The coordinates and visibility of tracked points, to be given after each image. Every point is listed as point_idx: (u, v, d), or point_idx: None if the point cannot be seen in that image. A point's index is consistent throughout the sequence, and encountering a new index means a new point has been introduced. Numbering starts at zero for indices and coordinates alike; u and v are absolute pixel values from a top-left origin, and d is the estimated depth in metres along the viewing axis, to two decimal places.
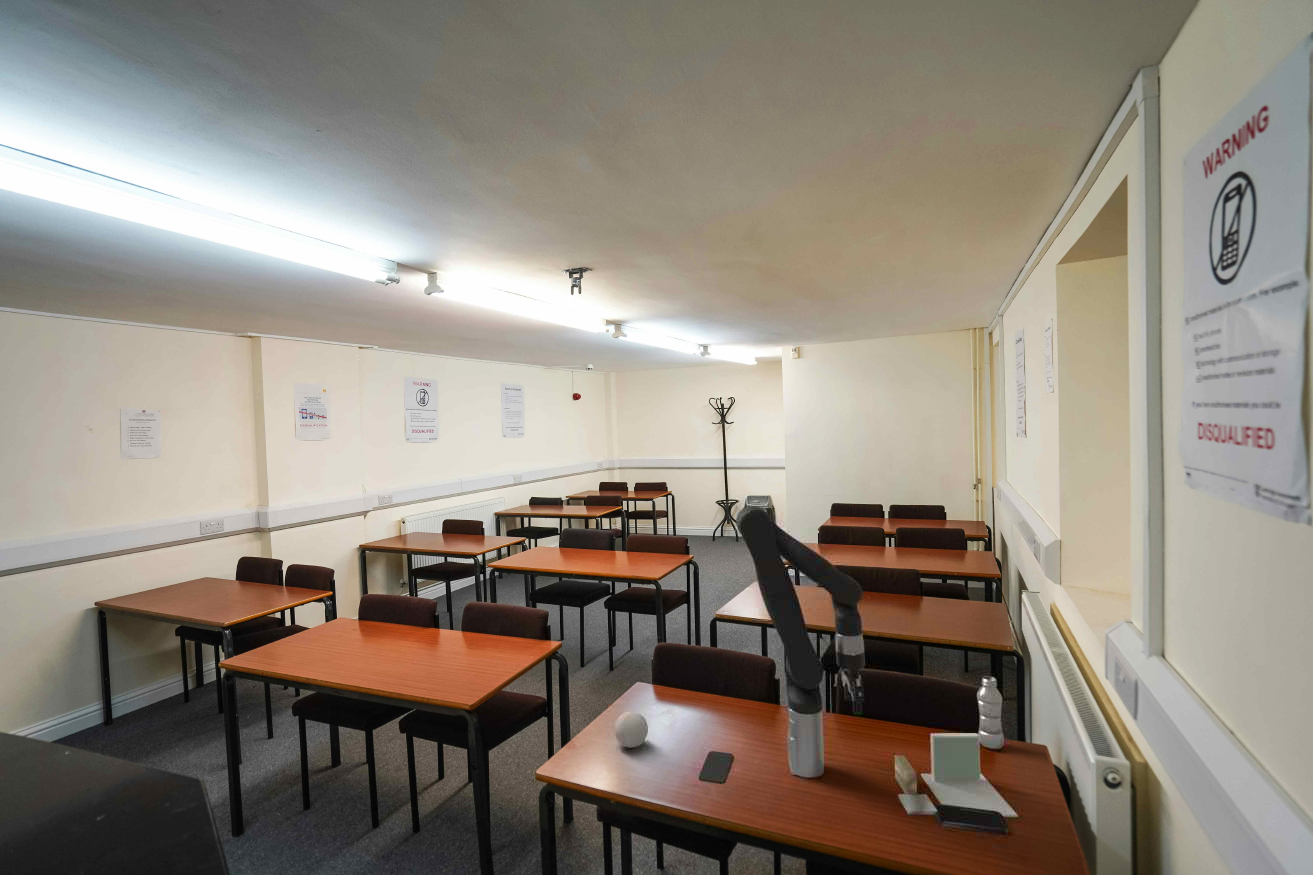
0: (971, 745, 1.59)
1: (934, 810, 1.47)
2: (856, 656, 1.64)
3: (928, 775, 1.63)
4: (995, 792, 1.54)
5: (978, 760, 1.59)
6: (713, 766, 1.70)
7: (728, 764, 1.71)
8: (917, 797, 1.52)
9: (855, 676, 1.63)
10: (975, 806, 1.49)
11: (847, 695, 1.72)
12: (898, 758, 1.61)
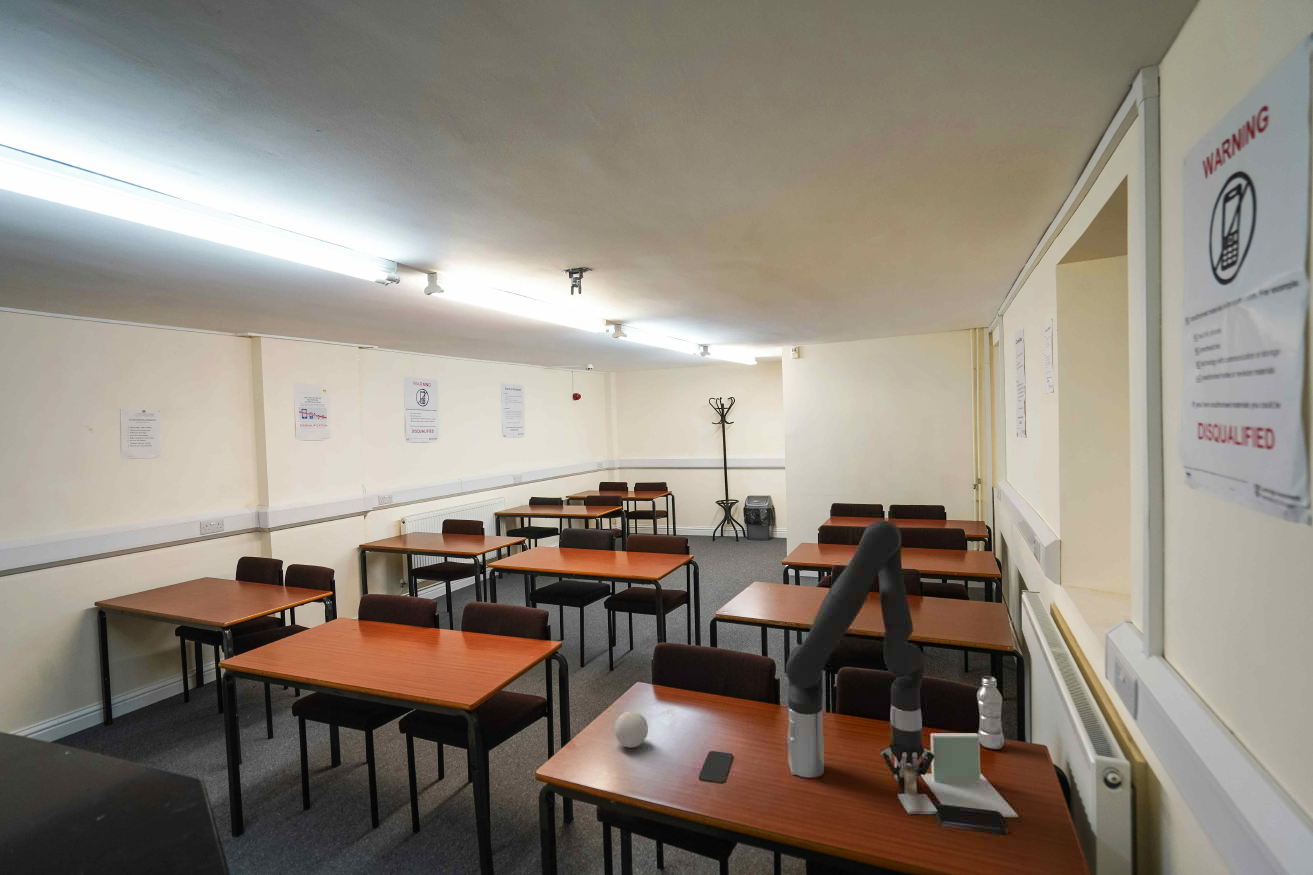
0: (971, 745, 1.59)
1: (934, 810, 1.47)
2: None
3: (928, 775, 1.63)
4: (995, 792, 1.54)
5: (978, 760, 1.59)
6: (713, 766, 1.70)
7: (728, 764, 1.71)
8: (917, 797, 1.52)
9: None
10: (975, 806, 1.49)
11: None
12: None
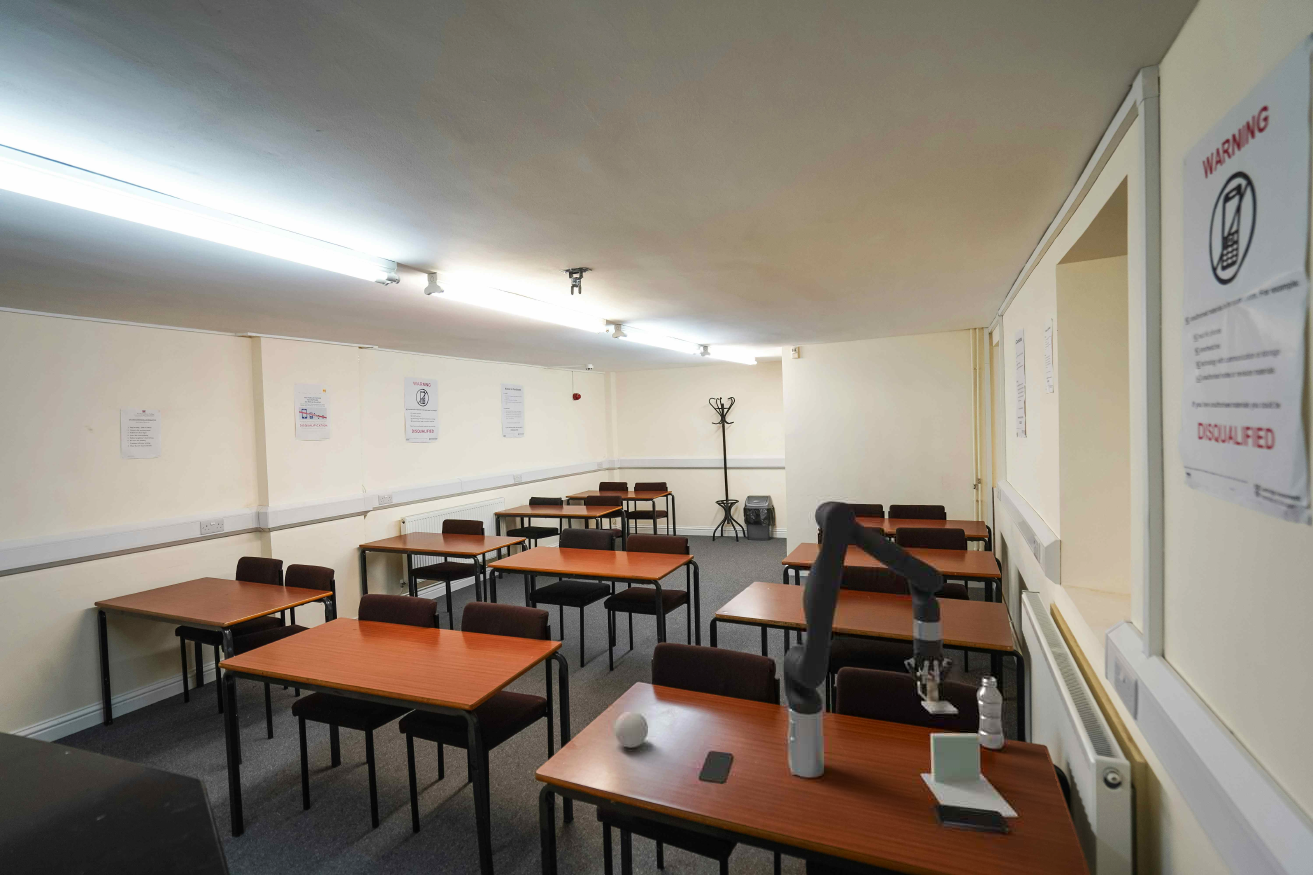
0: (971, 745, 1.59)
1: (954, 709, 1.63)
2: None
3: (928, 775, 1.63)
4: (995, 792, 1.54)
5: (978, 760, 1.59)
6: (713, 766, 1.70)
7: (728, 764, 1.71)
8: (939, 702, 1.68)
9: None
10: (975, 806, 1.49)
11: None
12: None
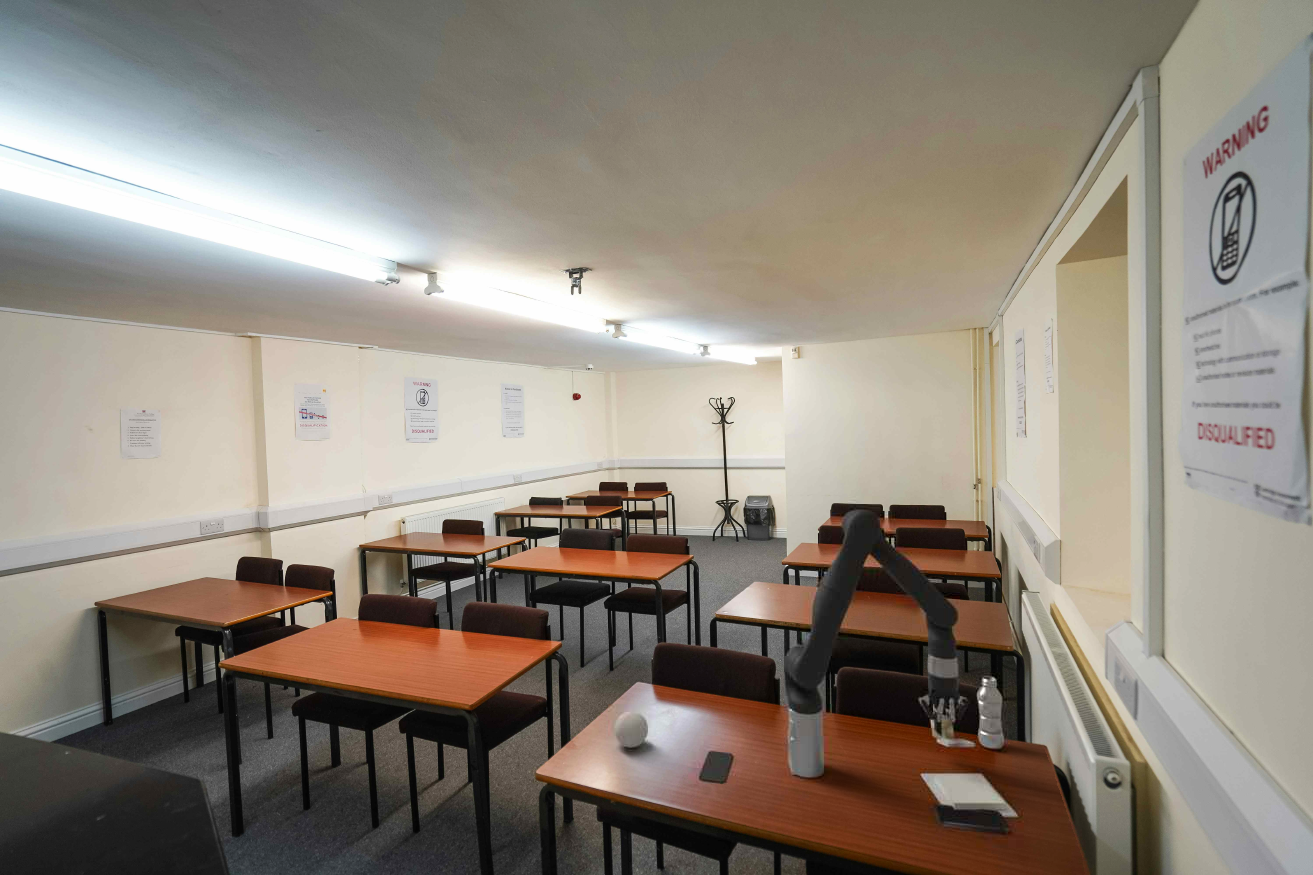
0: None
1: (971, 743, 1.57)
2: None
3: (928, 775, 1.63)
4: None
5: None
6: (713, 766, 1.70)
7: (728, 764, 1.71)
8: (955, 739, 1.62)
9: None
10: None
11: None
12: None
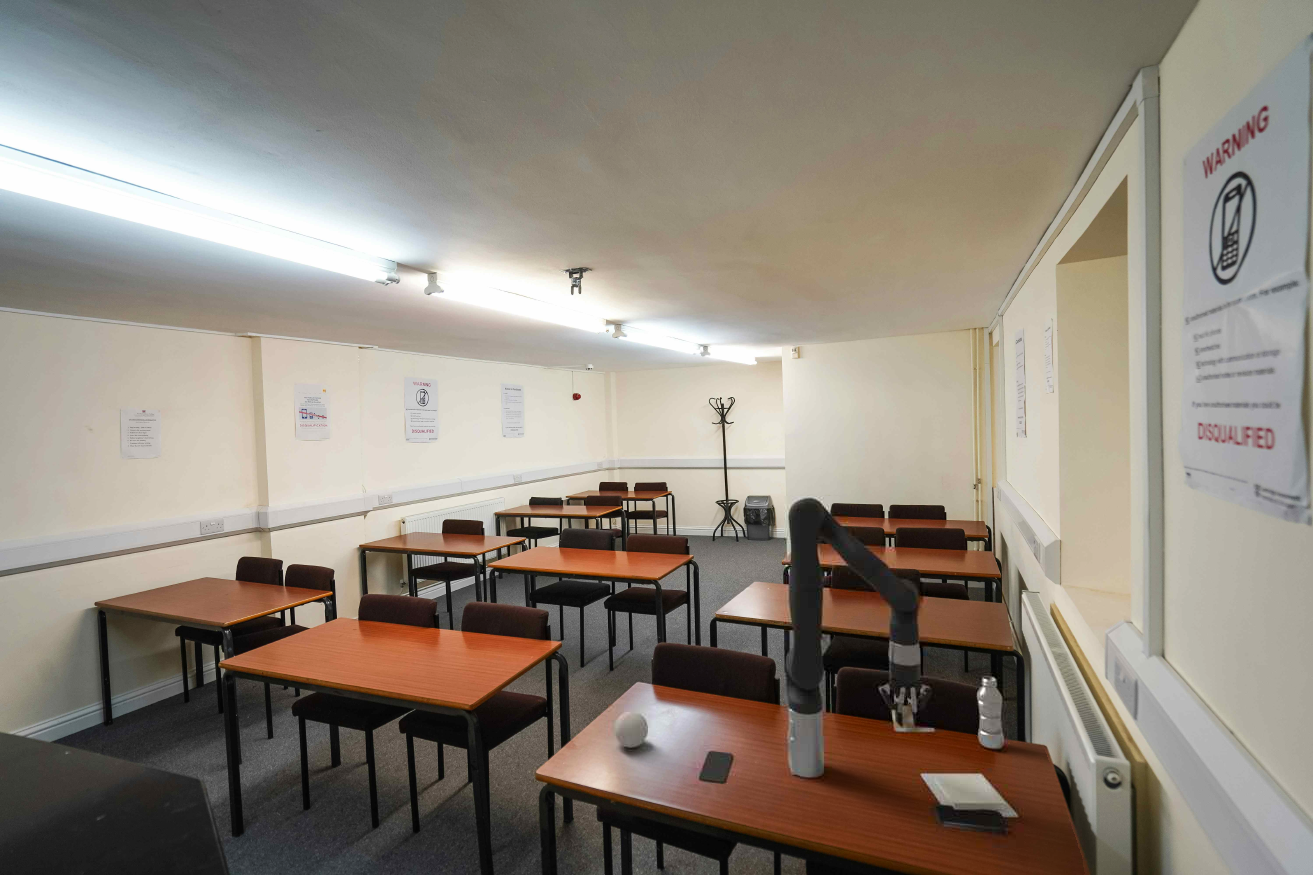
0: None
1: (931, 728, 1.48)
2: None
3: (928, 775, 1.63)
4: None
5: None
6: (713, 766, 1.70)
7: (728, 764, 1.71)
8: None
9: None
10: None
11: None
12: None
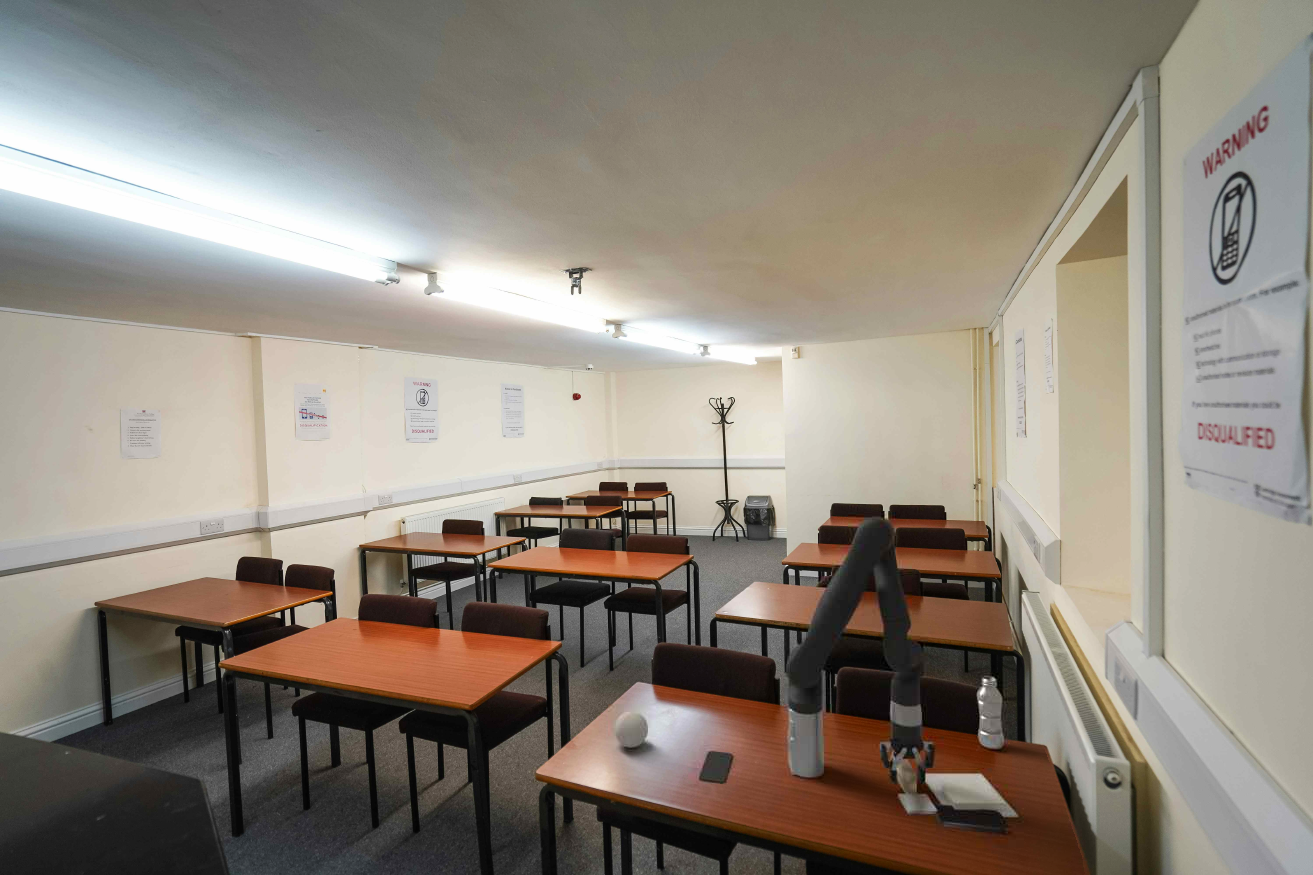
0: None
1: (934, 809, 1.47)
2: None
3: (928, 775, 1.63)
4: None
5: None
6: (713, 766, 1.70)
7: (728, 764, 1.71)
8: (917, 797, 1.53)
9: None
10: None
11: None
12: None
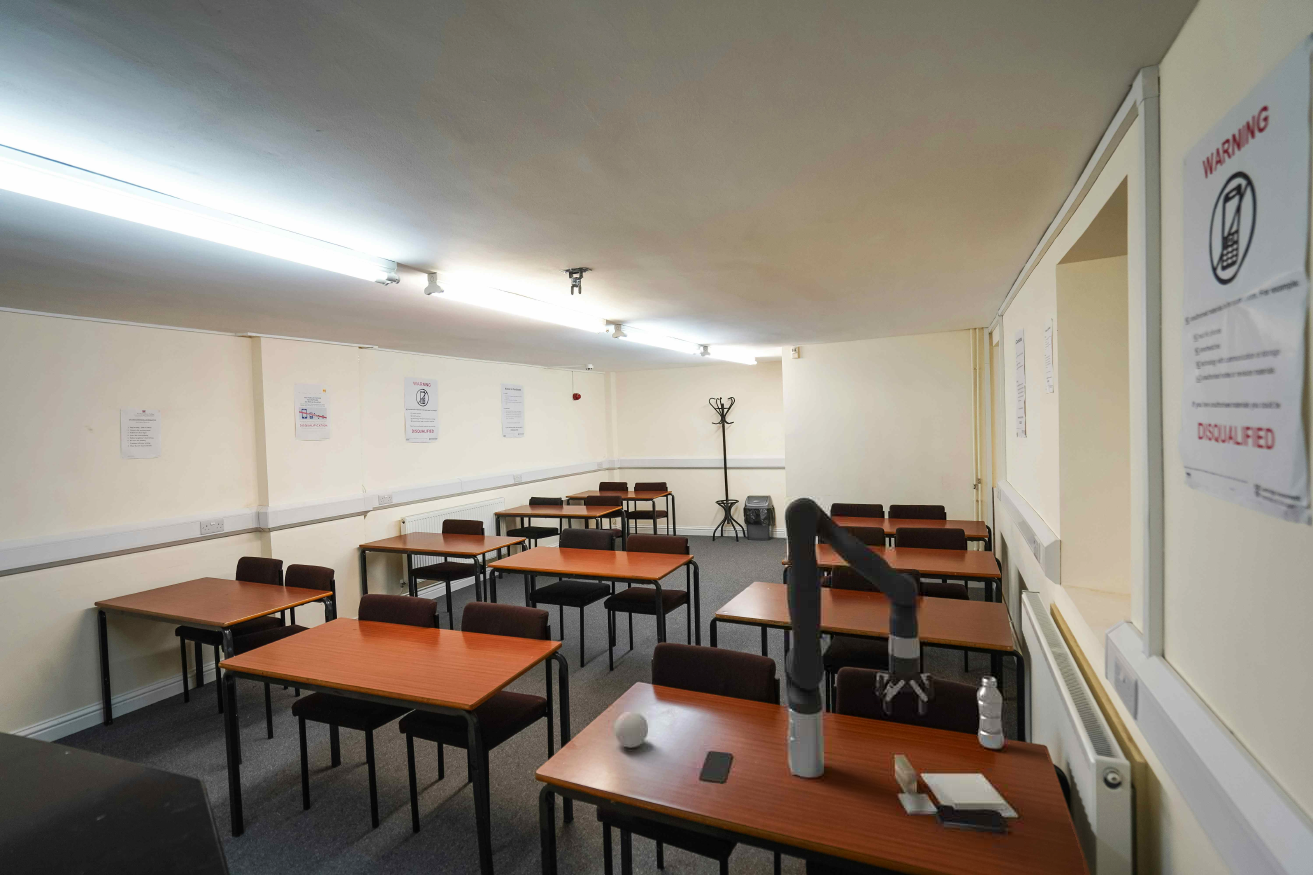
0: None
1: (934, 810, 1.47)
2: None
3: (928, 775, 1.63)
4: None
5: None
6: (713, 766, 1.70)
7: (728, 764, 1.71)
8: (917, 797, 1.53)
9: (921, 674, 1.58)
10: None
11: None
12: (898, 758, 1.61)
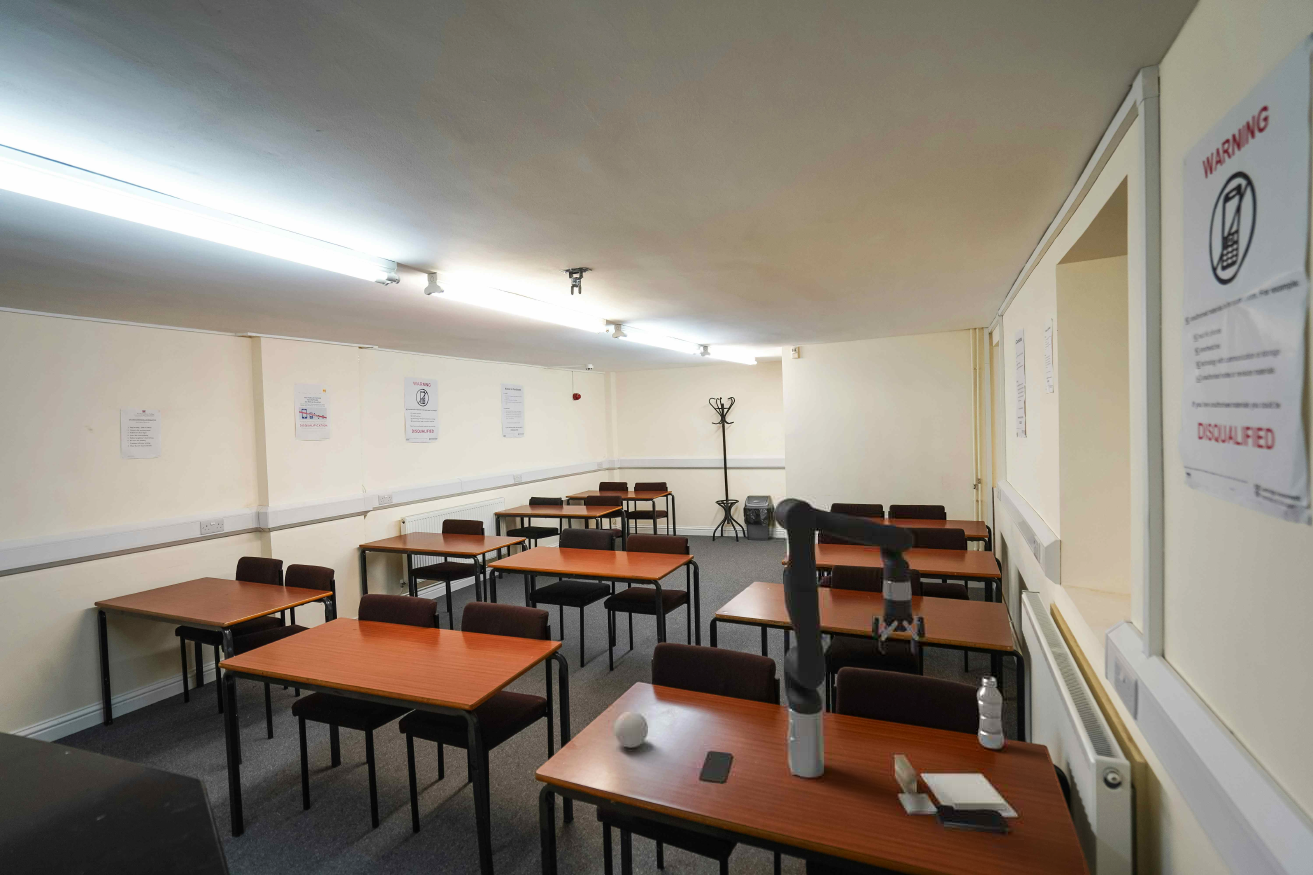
0: None
1: (934, 810, 1.47)
2: None
3: (928, 775, 1.63)
4: None
5: None
6: (713, 766, 1.70)
7: (728, 764, 1.71)
8: (917, 797, 1.53)
9: (912, 616, 1.72)
10: None
11: None
12: (898, 758, 1.61)
